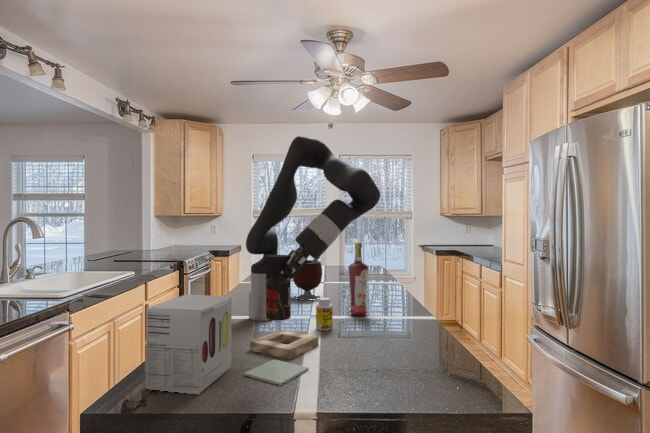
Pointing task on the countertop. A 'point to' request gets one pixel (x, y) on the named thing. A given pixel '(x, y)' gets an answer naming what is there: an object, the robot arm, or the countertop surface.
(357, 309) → the liquor
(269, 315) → the deodorant
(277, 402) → the countertop surface
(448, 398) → the countertop surface
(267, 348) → the socket block
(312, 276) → the mate gourd
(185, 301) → the supplement box
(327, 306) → the supplement bottle
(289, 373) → the plate
